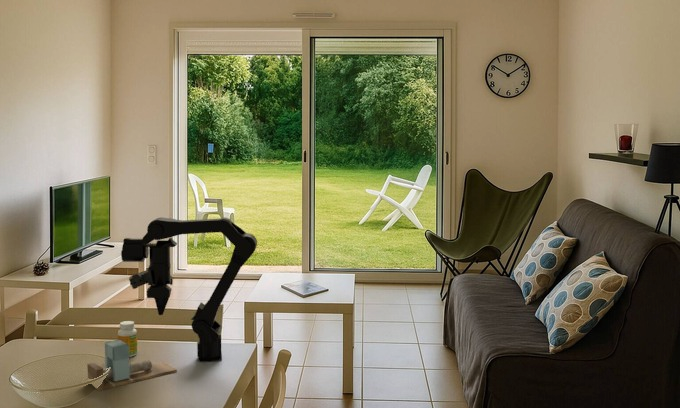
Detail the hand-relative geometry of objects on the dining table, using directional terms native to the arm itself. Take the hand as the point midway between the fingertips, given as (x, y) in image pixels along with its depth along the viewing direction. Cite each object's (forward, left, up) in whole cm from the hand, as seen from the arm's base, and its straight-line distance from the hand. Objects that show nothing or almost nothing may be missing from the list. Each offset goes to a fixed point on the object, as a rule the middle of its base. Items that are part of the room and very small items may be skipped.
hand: (160, 314), depth 198 cm
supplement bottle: (+10, -5, -13) cm, 17 cm away
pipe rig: (+7, +14, -13) cm, 20 cm away
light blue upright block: (+10, +16, -13) cm, 23 cm away
